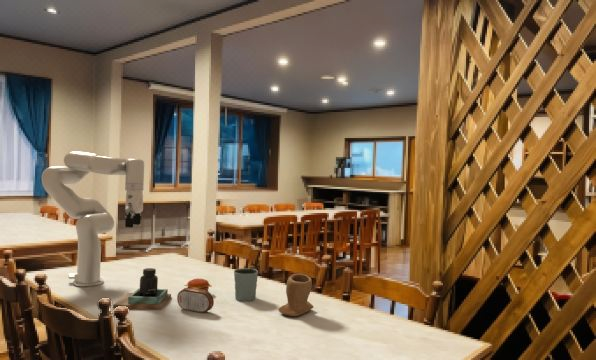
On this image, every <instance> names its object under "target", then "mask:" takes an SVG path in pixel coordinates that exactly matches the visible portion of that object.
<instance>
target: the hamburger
mask: <svg viewBox="0 0 596 360" xmlns="http://www.w3.org/2000/svg"><path fill="white" fill-rule="evenodd" d="M183 287H187V288H194V289H201V290H206V291H208V292H209V290H210V289H209V287H210V288H211V287H213V285H212V284H211V283H209V281H208V279H204V278H193V279H191V280H189V281H187V283H186V284H184V285H183Z"/></svg>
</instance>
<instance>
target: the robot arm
mask: <svg viewBox="0 0 596 360" xmlns="http://www.w3.org/2000/svg"><path fill="white" fill-rule="evenodd" d="M63 164H64V165H65V166H61V165H55V166H54V165H53V166H49V167H46V168H45V169H44V170H43V171H42V174H41V184H42V187H43V189H44V191H45V192H46V193H47V194H48V195H49V197H51V198H52V199H54V201H56V203H57V204H58V205H59V206H60V208H61V209H62V210H63V211H64V212H65V213H66V215H67V216H68V217H69V218H70V219H74V220H77V221H76V223H75V231H76V235H77V266H76V267H77V269H76V273H69V274H68V277H67V278H68V279H69V280H72V279H73V282H72V285H73V286H76V287H82V288H84V287H85V288H86V287H94V286H99V285H102V284H104V279H103V278H102V277H101V258H102V257H101V255H102V253H101V252H102V243H101V239H100V238H99V236H98V235H99V234H101V235H102V234H105V233H106V234H107V233H108V232H109V233H110V231H112V230H113V229H114V227H115V220H114V218H113V216H112V215H111V213H110V212H109V211H108V210H107V208H105V206H103V204H101V202H100V201H99V200H97V199H95V198H93V197H80V196H78V195H77V193H75V191H74V190H73V189H71V188H70V187H68V186H66V185H72V184H73V185H74V184H78V183H80V181H82V180H83V179H84V178H85V177H86V176H87V175H88V174H89V173H93V174H100V175H109V176H125V177H124V178H125V182H124V183H125V184H124V185H125V186H124V190H125V191H126V193H125V204H124V205H125V209H124V210H125V214H124V215H125V220H124V222H125V223H124V227H125V228H134V225H136V226H137V225H141V222H142V220H141V219H142V212H143V211H144V195H143V194H144V193H143V191H144V180H145V179H144V178H145V175H144V174H145V161H144V160H143V159H140V158H126V157H125V158H124V157H123V158H122V157H110V156H109V157H108V156H100V155H99V154H98V153H91V152H87V151H70V152H68V153H66V154H65V156H64V157H63Z"/></svg>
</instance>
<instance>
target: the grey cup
mask: <svg viewBox="0 0 596 360" xmlns="http://www.w3.org/2000/svg"><path fill="white" fill-rule="evenodd" d="M258 275H259V271H258V270H257V269H255V268H247V267H244V268H237V269H235V270H233V276H234V289H235V294H234V295H235V296H234V297H235V300H236V301H238V302H243V303H247V302H248V303H250V302H254V301H255V300H256V298H257V297H256V296H257V286H258V285H257V284H258Z"/></svg>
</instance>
